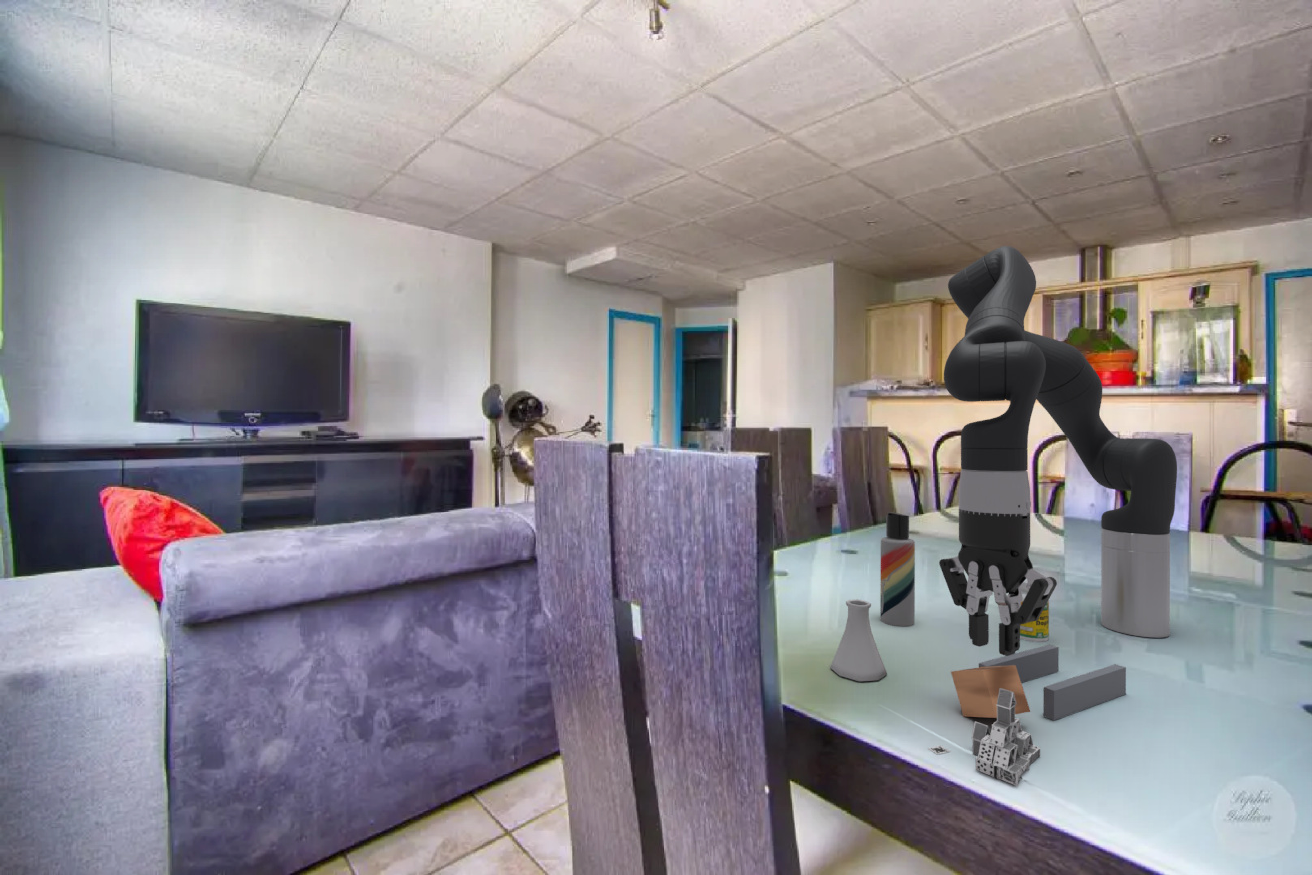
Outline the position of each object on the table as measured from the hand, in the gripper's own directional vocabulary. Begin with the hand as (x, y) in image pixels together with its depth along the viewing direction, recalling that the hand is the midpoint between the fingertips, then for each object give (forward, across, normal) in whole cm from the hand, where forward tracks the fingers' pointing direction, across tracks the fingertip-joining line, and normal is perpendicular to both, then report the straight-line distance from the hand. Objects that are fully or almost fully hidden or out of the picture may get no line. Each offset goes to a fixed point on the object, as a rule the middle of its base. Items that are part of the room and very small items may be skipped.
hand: (993, 648), depth 70 cm
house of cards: (+8, +5, -9) cm, 13 cm away
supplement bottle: (+8, -14, +31) cm, 35 cm away
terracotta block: (+7, +2, -2) cm, 7 cm away
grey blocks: (+8, 0, +12) cm, 15 cm away
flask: (+8, -16, -6) cm, 19 cm away
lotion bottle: (+8, -29, +17) cm, 35 cm away
